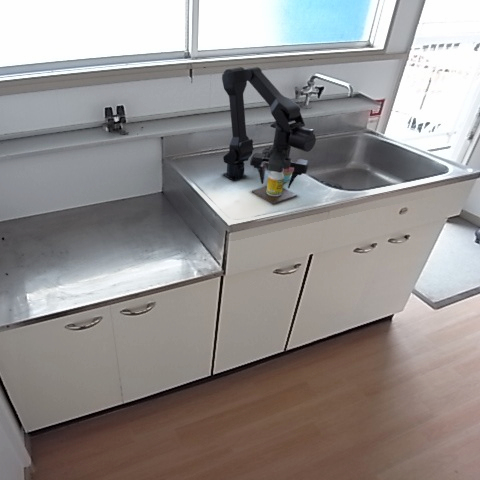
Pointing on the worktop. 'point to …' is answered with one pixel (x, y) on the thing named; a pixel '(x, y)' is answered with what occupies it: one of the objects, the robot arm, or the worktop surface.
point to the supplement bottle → (275, 183)
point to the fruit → (267, 152)
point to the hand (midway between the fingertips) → (275, 185)
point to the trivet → (274, 199)
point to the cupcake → (287, 173)
